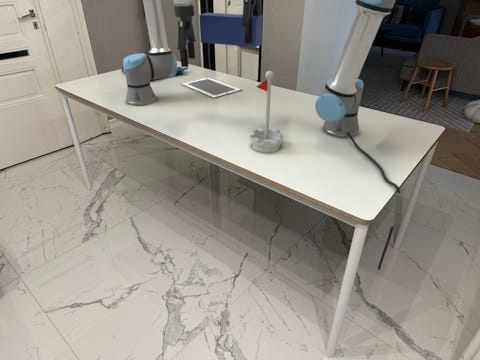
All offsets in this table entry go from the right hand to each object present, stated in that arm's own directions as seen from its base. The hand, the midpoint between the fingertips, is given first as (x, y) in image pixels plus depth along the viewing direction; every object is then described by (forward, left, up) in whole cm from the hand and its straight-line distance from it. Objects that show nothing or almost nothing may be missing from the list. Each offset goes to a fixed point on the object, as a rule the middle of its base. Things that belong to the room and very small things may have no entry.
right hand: (252, 41), depth 140 cm
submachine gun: (+94, +19, -35) cm, 102 cm away
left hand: (+7, +26, -7) cm, 28 cm away
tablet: (+54, -1, -35) cm, 65 cm away
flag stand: (-26, +6, -35) cm, 44 cm away
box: (+7, +6, -1) cm, 10 cm away
